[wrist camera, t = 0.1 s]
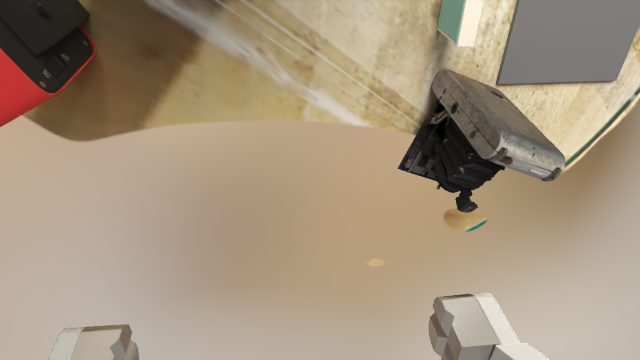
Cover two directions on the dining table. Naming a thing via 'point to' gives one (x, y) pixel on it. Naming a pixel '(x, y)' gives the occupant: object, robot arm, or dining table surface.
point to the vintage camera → (477, 139)
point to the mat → (568, 40)
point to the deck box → (460, 20)
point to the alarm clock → (39, 51)
